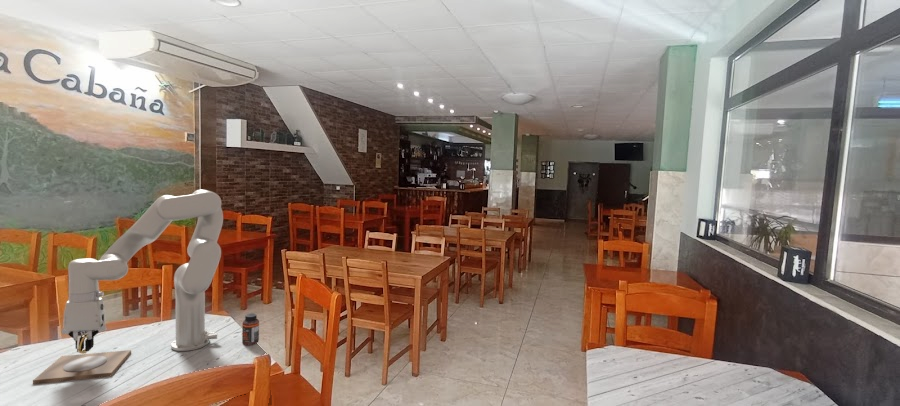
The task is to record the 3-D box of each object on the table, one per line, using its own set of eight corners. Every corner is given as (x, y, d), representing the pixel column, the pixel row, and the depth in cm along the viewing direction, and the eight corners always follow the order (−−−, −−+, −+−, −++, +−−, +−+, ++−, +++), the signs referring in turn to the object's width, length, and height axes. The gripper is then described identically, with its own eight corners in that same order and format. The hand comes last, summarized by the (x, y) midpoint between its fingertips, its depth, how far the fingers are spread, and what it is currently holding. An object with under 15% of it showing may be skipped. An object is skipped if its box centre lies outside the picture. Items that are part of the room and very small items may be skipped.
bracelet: (83, 357, 137) (83, 333, 137) (72, 357, 136) (72, 333, 136) (96, 348, 144) (96, 325, 143) (85, 349, 143) (85, 326, 143)
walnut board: (131, 353, 152) (131, 349, 152) (111, 376, 136) (111, 371, 136) (61, 359, 145) (61, 355, 145) (32, 384, 129) (32, 379, 129)
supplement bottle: (238, 343, 164) (238, 315, 163) (251, 338, 170) (251, 311, 169) (250, 347, 162) (250, 318, 161) (262, 341, 168) (262, 313, 167)
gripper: (117, 291, 145) (117, 343, 146) (60, 293, 139) (61, 347, 141) (108, 298, 138) (108, 352, 139) (47, 301, 132) (48, 357, 134)
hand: (84, 349), depth 140 cm, fingers closed on bracelet, 1 cm apart
